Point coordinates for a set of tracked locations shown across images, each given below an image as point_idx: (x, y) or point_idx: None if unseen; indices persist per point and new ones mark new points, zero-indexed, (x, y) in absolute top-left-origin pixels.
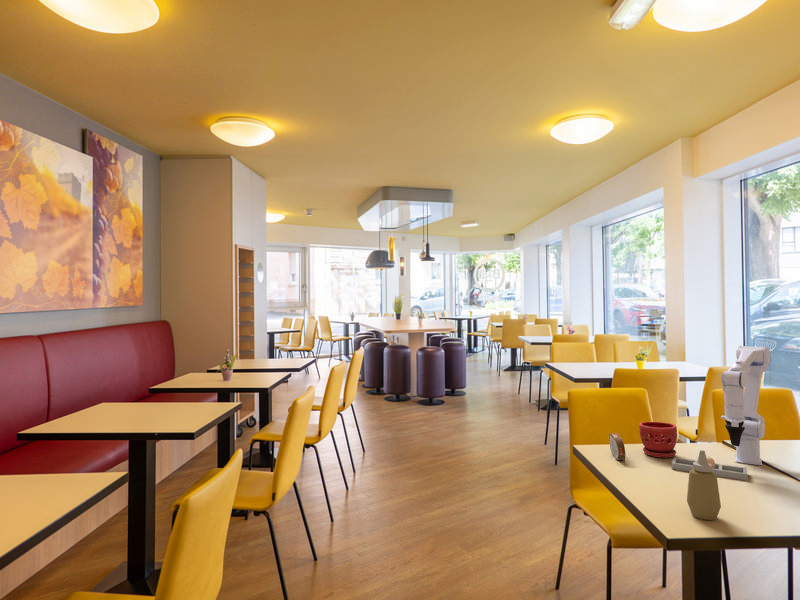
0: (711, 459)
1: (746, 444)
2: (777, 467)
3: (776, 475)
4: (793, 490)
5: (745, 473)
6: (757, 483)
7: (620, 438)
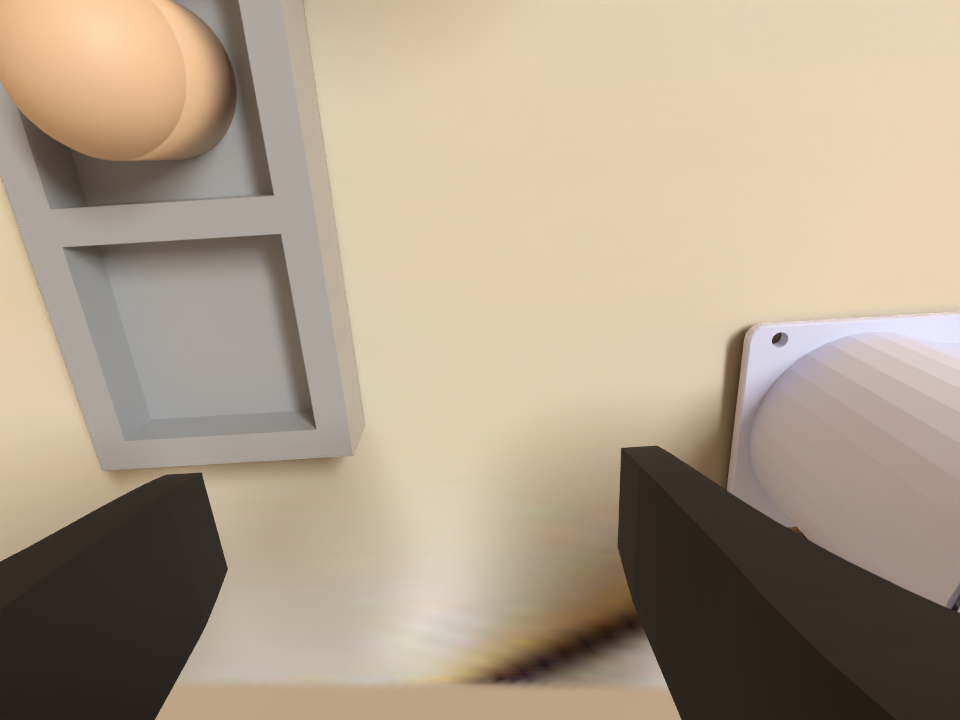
0: (37, 115)
1: (885, 548)
2: None
3: (480, 604)
4: None
5: (122, 456)
6: None
7: None
